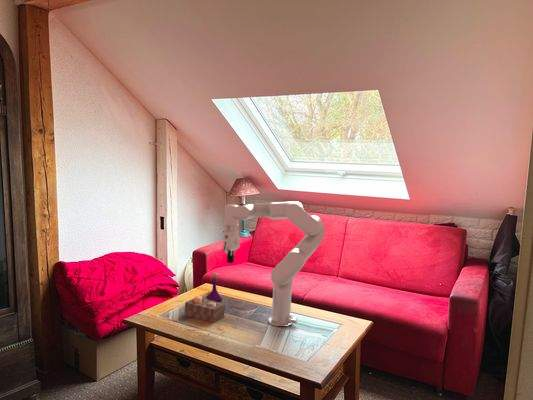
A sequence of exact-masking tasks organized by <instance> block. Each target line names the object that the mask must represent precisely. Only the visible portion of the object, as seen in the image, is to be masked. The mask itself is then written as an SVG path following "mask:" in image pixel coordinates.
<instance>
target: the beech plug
mask: <svg viewBox="0 0 533 400" xmlns="http://www.w3.org/2000/svg"><path fill="white" fill-rule="evenodd" d="M208 306H210V307H215V306H216V303H214V302H211V303H209V304H208Z"/></svg>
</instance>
